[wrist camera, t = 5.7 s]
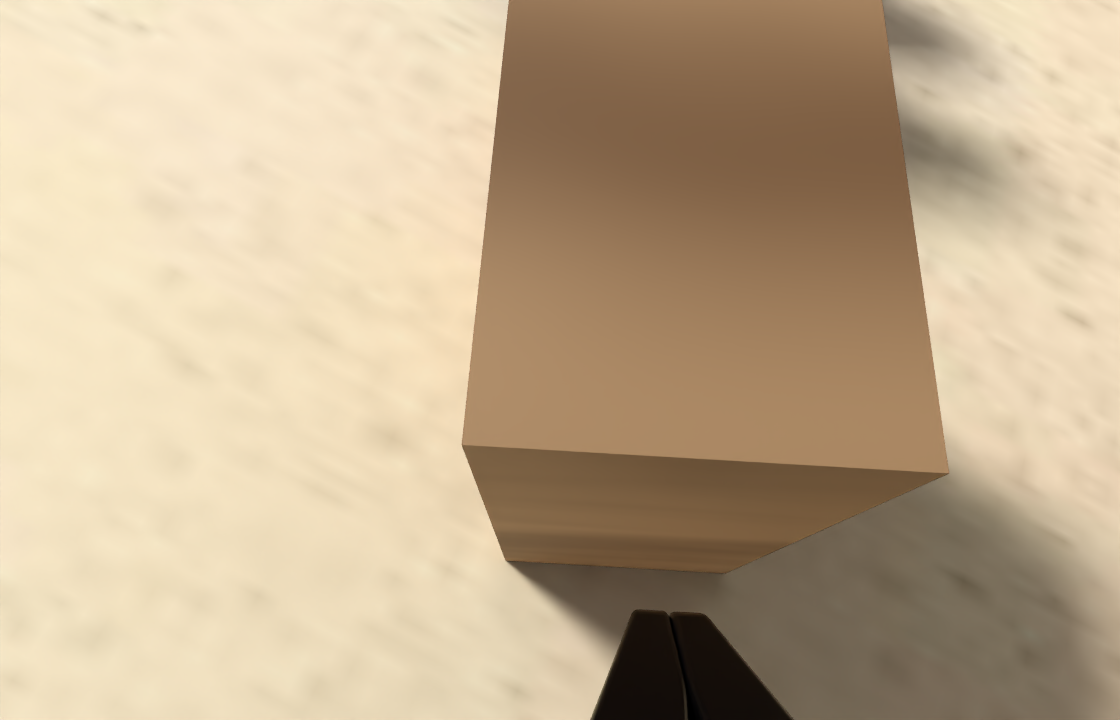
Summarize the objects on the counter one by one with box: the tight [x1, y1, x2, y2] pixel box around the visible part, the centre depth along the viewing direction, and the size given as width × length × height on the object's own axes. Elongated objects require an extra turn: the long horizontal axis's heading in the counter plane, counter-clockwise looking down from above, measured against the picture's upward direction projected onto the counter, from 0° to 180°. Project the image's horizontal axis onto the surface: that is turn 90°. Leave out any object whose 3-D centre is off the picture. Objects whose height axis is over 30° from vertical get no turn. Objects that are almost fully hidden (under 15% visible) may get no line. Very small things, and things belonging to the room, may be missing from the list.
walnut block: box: [462, 0, 949, 573], centre depth 14 cm, size 14×4×9 cm, turn 177°
